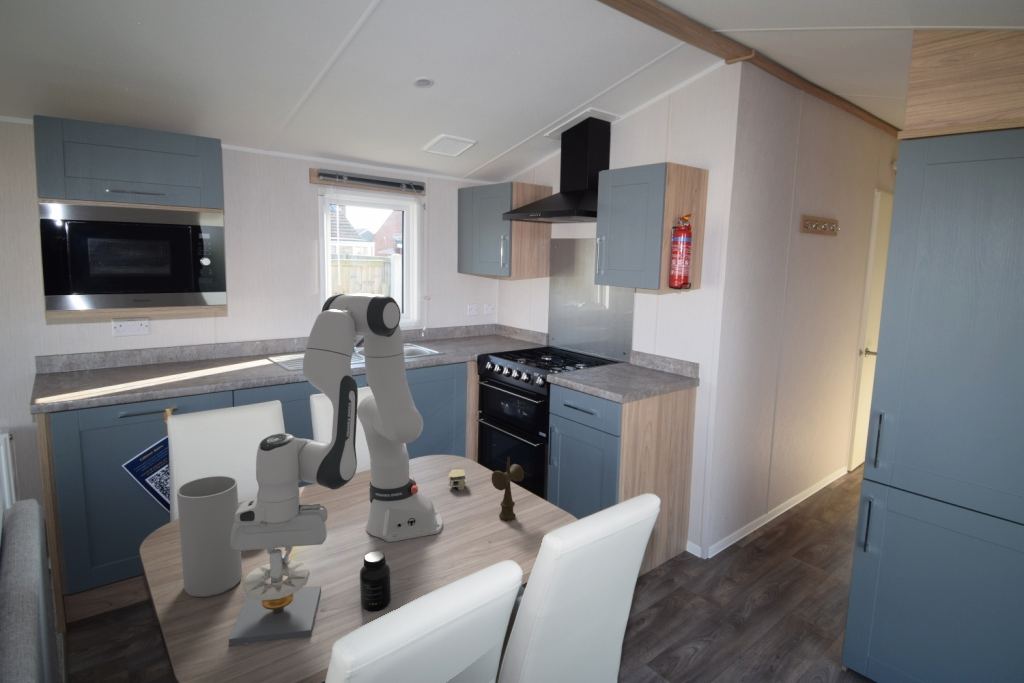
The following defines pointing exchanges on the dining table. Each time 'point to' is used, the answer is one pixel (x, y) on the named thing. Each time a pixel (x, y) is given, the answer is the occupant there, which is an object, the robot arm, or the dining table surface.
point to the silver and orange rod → (277, 577)
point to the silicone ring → (268, 591)
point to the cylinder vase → (208, 535)
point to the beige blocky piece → (457, 478)
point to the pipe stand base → (277, 619)
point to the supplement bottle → (375, 582)
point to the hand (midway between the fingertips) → (280, 563)
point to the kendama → (507, 488)
